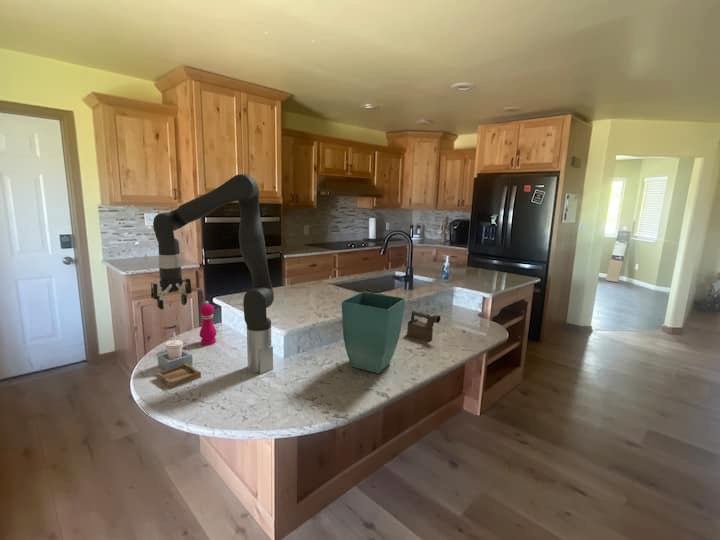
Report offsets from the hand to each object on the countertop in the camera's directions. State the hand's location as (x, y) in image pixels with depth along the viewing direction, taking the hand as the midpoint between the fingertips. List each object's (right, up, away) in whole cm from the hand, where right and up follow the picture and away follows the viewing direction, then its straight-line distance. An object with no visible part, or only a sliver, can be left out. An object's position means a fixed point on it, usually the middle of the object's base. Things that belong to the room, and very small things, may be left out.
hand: (172, 306), depth 145 cm
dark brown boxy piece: (+104, -20, +45) cm, 115 cm away
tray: (+5, -26, -6) cm, 27 cm away
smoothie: (-1, -24, +4) cm, 24 cm away
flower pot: (+77, -26, +11) cm, 82 cm away
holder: (-1, -24, +4) cm, 24 cm away
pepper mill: (+3, -19, +27) cm, 34 cm away
